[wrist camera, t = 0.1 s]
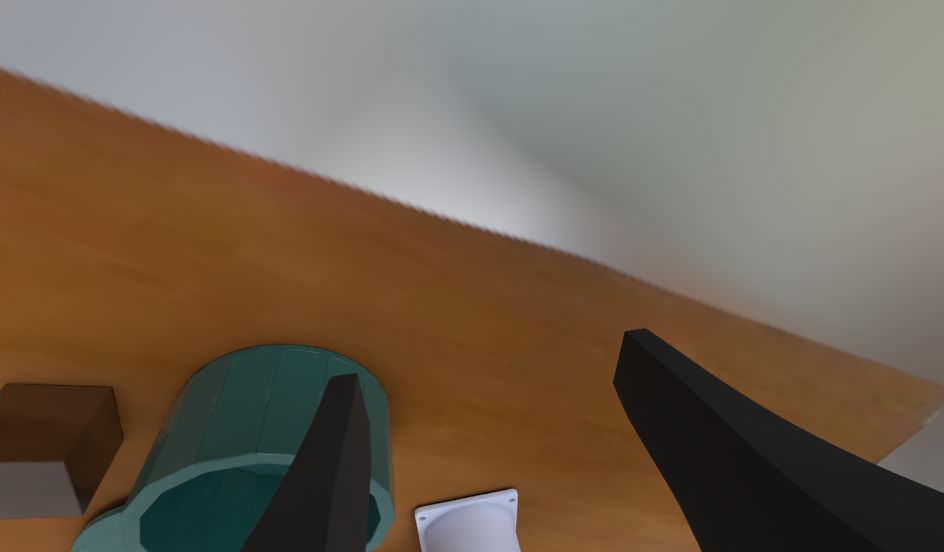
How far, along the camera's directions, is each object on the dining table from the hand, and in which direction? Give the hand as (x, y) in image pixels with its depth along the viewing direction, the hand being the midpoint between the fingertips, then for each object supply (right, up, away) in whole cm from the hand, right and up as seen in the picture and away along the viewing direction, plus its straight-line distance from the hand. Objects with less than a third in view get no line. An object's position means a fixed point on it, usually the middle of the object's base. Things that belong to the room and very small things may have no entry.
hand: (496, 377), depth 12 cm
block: (-21, -4, +11) cm, 24 cm away
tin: (-11, -5, +14) cm, 18 cm away
